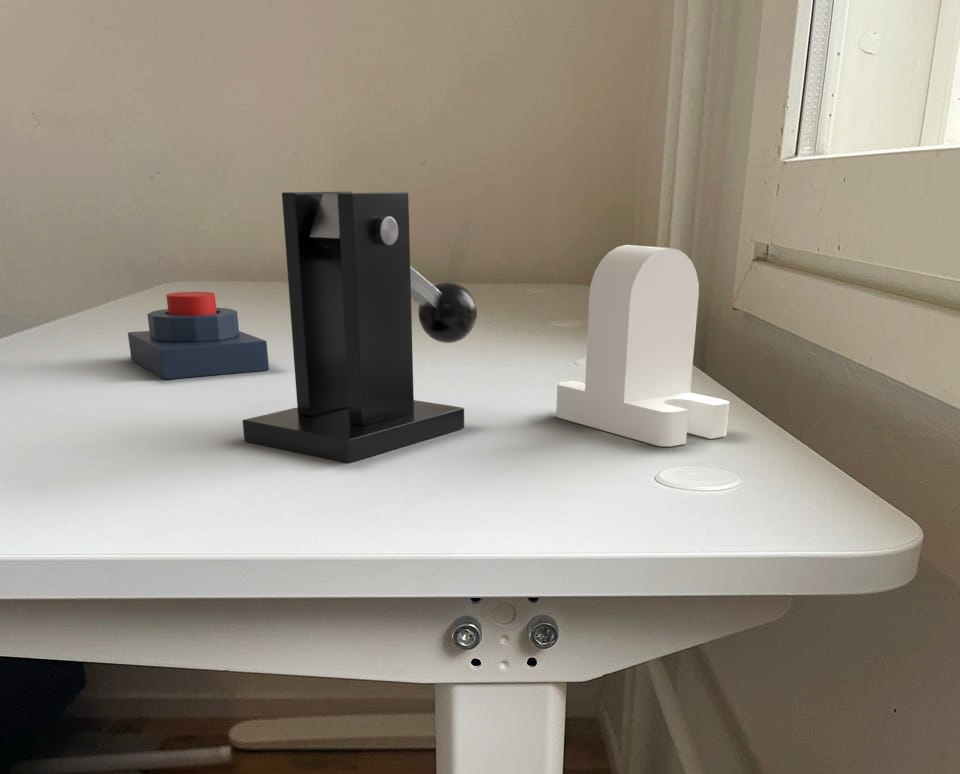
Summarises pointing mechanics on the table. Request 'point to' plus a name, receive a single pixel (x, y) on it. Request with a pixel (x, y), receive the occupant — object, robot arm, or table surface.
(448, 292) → the lever
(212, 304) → the stop button
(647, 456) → the table surface
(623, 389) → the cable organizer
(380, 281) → the bracket
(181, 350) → the switch box
